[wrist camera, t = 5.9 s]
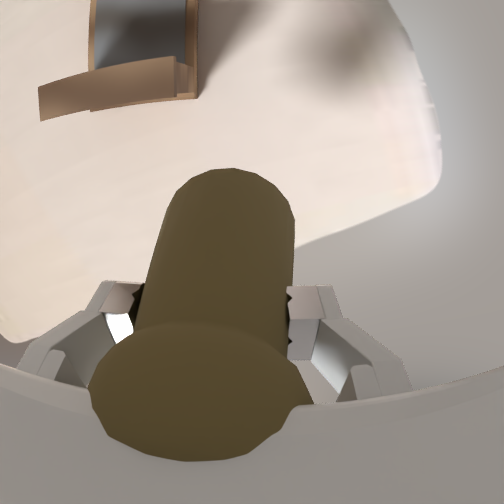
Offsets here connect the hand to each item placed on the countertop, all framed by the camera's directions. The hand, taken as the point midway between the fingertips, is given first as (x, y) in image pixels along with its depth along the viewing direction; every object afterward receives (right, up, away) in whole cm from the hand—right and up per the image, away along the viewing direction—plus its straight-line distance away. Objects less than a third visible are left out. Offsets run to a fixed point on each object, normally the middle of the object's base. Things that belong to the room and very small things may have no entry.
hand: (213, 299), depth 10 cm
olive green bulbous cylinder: (0, +3, +4) cm, 5 cm away
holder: (-7, +20, +8) cm, 22 cm away
